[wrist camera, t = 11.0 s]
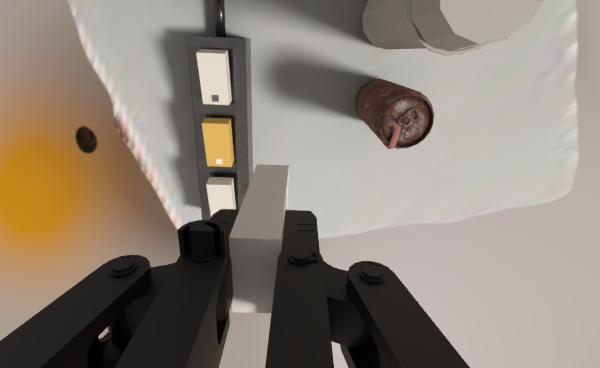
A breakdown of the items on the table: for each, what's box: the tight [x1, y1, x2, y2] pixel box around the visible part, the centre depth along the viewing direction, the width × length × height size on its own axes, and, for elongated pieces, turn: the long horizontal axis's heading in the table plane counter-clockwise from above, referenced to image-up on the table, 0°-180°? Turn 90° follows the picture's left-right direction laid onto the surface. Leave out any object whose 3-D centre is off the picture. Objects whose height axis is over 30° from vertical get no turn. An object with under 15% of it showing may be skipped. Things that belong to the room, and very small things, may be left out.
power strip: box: [187, 0, 253, 220], centre depth 45 cm, size 31×7×4 cm, turn 178°
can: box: [356, 79, 434, 149], centre depth 40 cm, size 6×6×14 cm
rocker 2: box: [206, 177, 236, 217], centre depth 45 cm, size 6×3×2 cm, turn 178°
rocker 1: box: [196, 49, 232, 105], centre depth 39 cm, size 6×3×2 cm, turn 178°
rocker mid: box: [202, 118, 234, 167], centre depth 42 cm, size 6×3×2 cm, turn 178°
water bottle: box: [362, 0, 543, 55], centre depth 31 cm, size 9×8×25 cm
